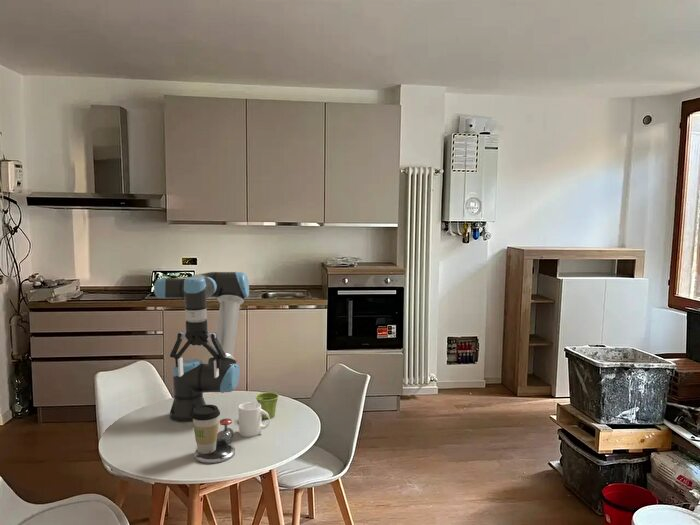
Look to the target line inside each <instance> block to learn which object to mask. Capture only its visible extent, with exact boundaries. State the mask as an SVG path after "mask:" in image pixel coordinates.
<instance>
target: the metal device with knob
mask: <svg viewBox="0 0 700 525" xmlns="http://www.w3.org/2000/svg"><path fill="white" fill-rule="evenodd" d="M232 423H233V420H232V419H231V418H221V419H220V420H219V424H220V425H221V426H224V429H223V430H220V431H218V434H217V440H216V450H215V451H214V452H212V453H208V454H202V453H199V452H198V449H196V450H195V451H194V454H193V458H194V460H195V461H196V462H198V463H201V464H206V465H207V464H208V465H212V464H219V463H223V462H227V461H229V460H231V459H232V458H233V457H234V456H236V448H235V447H234V445H233V444H231V443H232V440H233V438H234V435H235V434H234V433H235V432H234V429H232V428H231V427H228V425H231V424H232Z"/></svg>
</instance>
